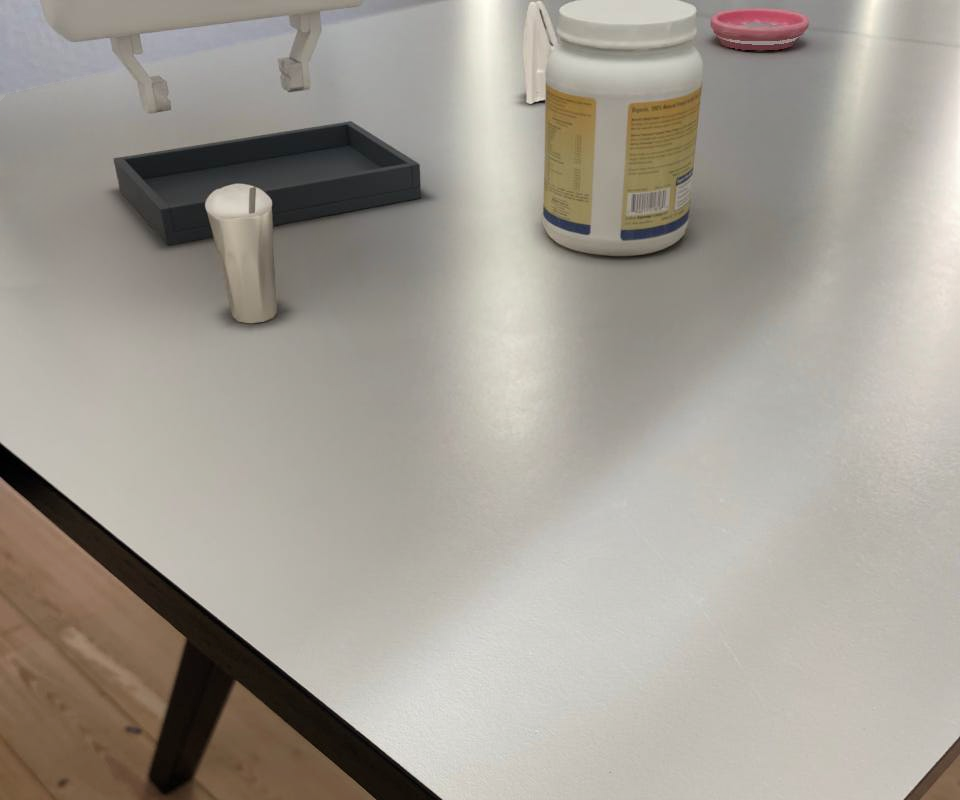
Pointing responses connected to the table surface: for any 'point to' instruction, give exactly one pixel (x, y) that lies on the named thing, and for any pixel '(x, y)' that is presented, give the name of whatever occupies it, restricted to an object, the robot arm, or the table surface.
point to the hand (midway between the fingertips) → (228, 99)
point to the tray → (268, 177)
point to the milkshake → (245, 249)
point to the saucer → (730, 20)
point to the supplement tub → (621, 125)
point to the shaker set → (537, 50)
